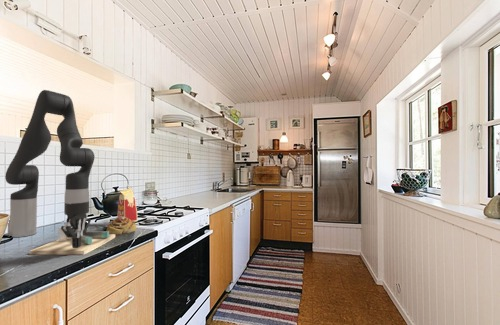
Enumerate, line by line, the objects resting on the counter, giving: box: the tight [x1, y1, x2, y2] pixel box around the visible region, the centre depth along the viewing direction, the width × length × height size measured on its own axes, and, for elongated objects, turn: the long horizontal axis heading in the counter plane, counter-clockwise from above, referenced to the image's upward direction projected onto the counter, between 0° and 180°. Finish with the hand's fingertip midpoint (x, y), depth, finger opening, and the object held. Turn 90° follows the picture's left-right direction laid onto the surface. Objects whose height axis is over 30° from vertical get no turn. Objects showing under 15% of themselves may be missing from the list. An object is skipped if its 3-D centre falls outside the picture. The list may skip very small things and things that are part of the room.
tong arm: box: [81, 235, 92, 244], centre depth 99 cm, size 12×2×2 cm, turn 61°
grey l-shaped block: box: [57, 227, 67, 241], centre depth 103 cm, size 3×7×5 cm, turn 1°
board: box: [28, 234, 116, 256], centre depth 99 cm, size 20×21×2 cm
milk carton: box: [116, 186, 138, 223], centre depth 141 cm, size 9×9×20 cm
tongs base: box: [83, 230, 109, 238], centre depth 103 cm, size 15×3×3 cm, turn 91°
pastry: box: [106, 216, 138, 236], centre depth 121 cm, size 13×15×8 cm
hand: (76, 247), depth 90 cm, fingers closed
